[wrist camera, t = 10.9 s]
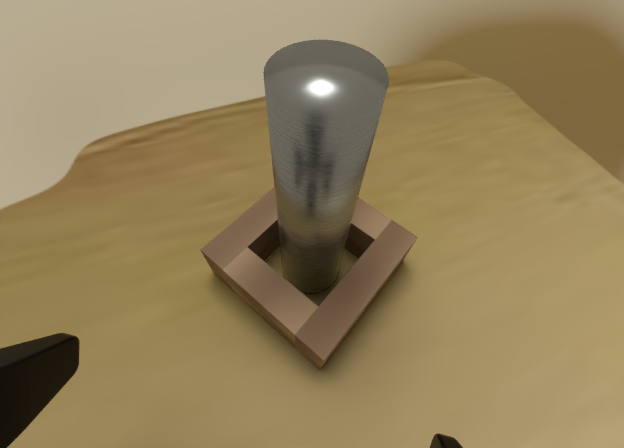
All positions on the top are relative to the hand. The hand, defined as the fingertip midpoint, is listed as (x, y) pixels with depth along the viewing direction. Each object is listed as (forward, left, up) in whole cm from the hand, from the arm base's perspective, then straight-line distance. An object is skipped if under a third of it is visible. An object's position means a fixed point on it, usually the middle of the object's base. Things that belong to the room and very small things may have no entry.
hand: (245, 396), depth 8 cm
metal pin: (+4, -7, -9) cm, 12 cm away
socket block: (+4, -7, -9) cm, 12 cm away
